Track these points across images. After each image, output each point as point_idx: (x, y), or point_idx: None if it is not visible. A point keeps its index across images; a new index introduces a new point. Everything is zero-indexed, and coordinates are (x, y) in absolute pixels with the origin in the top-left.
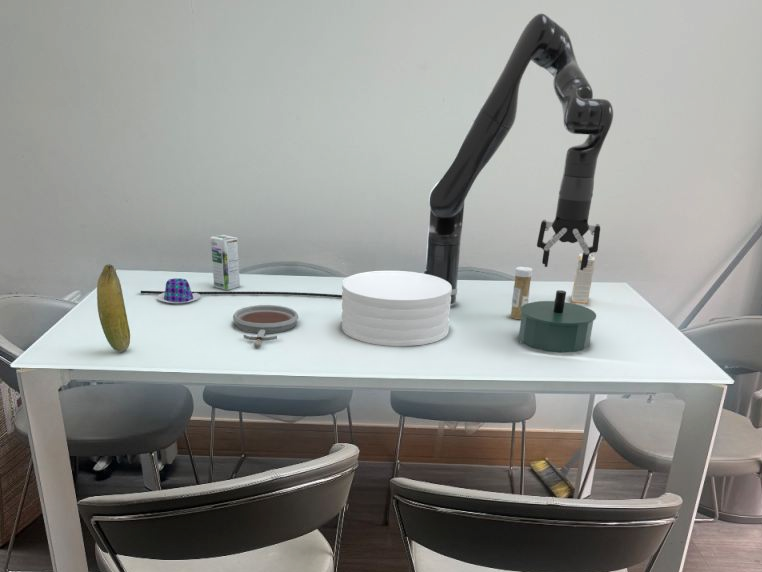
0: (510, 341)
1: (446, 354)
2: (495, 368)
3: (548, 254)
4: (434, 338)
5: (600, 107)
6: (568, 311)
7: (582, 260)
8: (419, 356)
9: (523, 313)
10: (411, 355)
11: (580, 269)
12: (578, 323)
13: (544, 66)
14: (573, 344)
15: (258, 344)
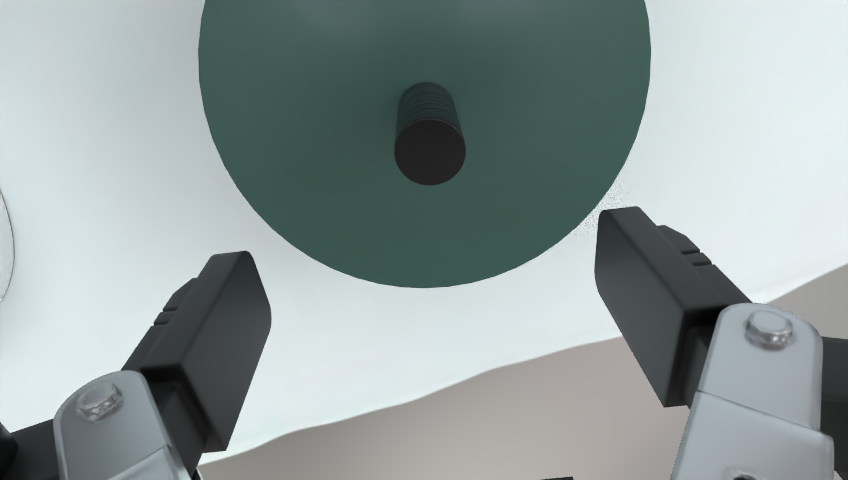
0: None
1: (123, 339)
2: (301, 378)
3: (228, 419)
4: (3, 270)
5: None
6: (484, 79)
7: (639, 352)
8: (69, 378)
9: (259, 213)
10: (45, 379)
11: (597, 285)
12: (542, 251)
13: None
14: None
15: None
